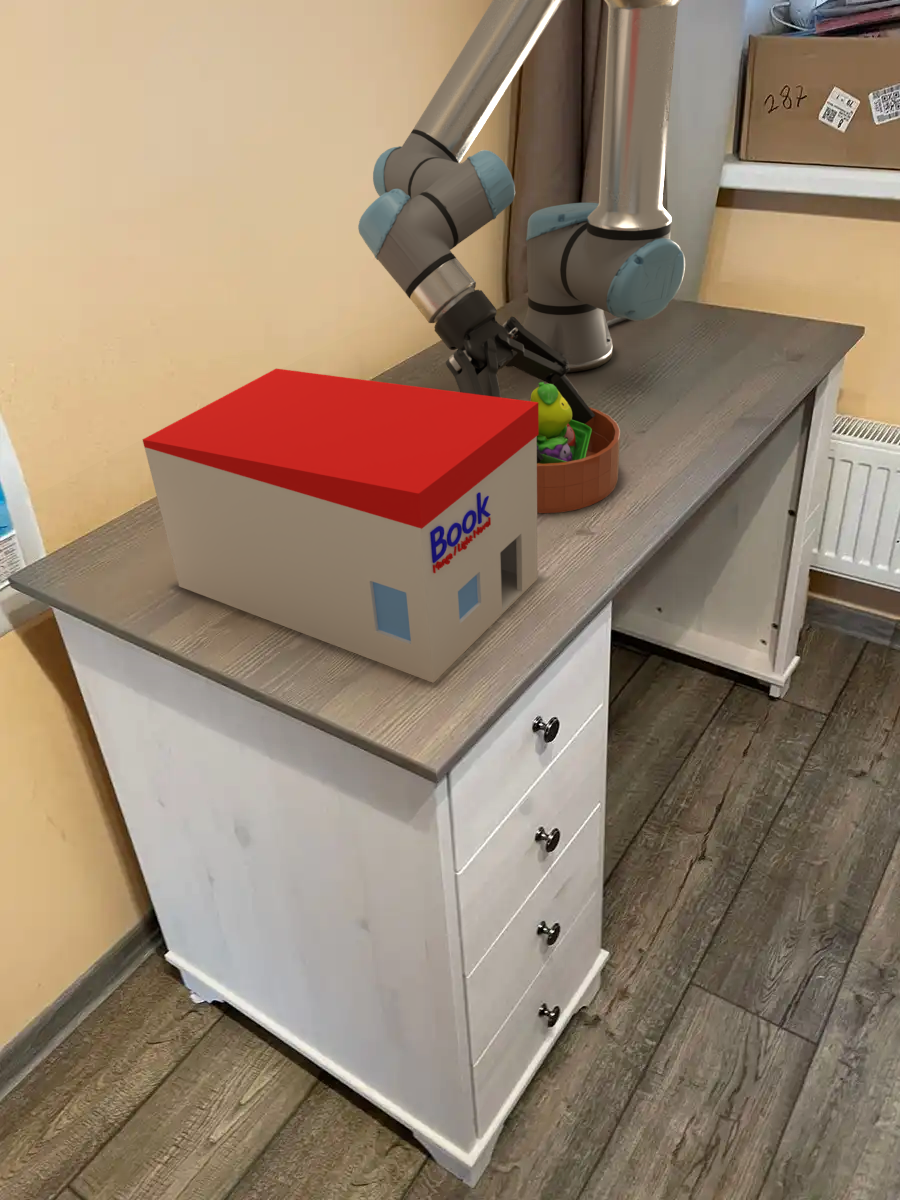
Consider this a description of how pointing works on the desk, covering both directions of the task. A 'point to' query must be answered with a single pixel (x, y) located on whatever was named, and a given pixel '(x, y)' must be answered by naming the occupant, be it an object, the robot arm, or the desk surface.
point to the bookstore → (355, 511)
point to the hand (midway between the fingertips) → (562, 443)
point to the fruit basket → (558, 427)
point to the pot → (582, 471)
